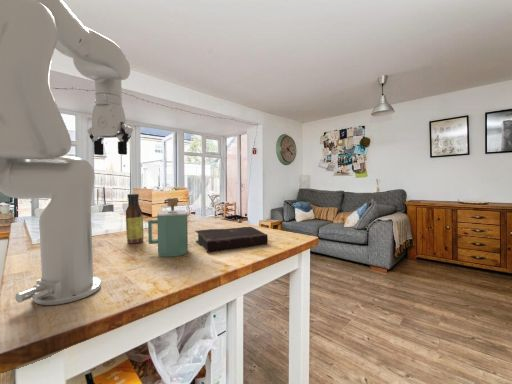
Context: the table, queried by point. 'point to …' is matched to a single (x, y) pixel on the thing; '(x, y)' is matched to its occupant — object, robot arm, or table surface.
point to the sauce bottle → (134, 220)
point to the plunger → (172, 203)
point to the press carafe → (170, 233)
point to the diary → (230, 238)
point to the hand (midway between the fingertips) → (110, 154)
